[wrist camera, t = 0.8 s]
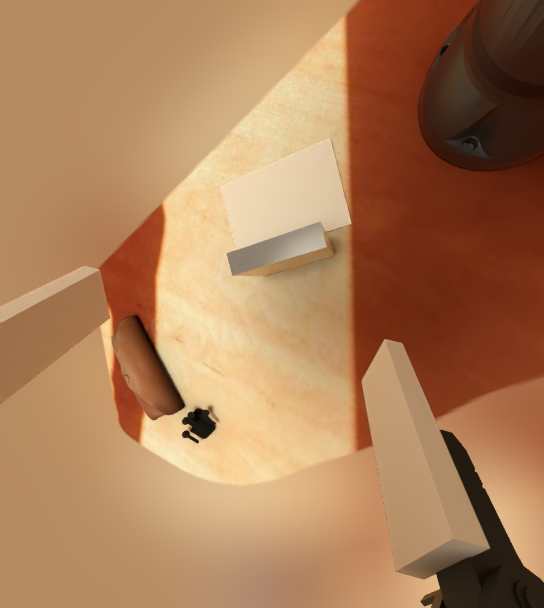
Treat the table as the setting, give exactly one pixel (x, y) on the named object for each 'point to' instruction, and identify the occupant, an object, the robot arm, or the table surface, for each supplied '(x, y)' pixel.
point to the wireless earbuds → (198, 424)
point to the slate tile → (282, 252)
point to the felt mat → (287, 196)
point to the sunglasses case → (144, 370)
